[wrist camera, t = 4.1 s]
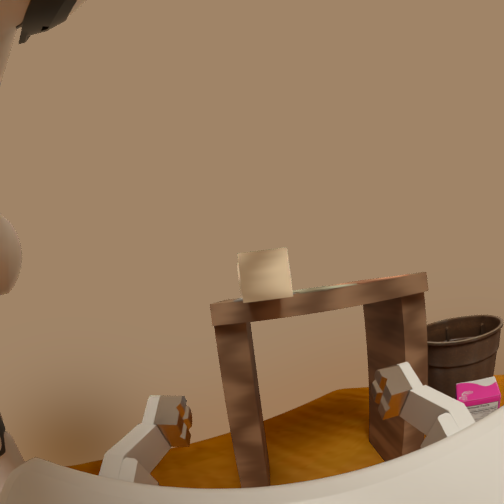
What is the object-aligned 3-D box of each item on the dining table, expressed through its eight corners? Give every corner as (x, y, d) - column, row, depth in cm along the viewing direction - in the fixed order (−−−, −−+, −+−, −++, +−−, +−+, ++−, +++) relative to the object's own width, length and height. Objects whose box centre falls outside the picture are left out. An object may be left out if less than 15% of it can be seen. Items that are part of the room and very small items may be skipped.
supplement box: (447, 452, 25) (455, 381, 26) (485, 447, 21) (497, 374, 23) (443, 477, 20) (456, 401, 22) (486, 472, 17) (504, 393, 18)
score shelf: (246, 515, 23) (209, 303, 26) (249, 459, 37) (225, 299, 40) (422, 474, 23) (425, 270, 26) (383, 433, 37) (376, 277, 40)
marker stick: (226, 305, 17) (219, 239, 18) (243, 297, 38) (239, 267, 39) (309, 294, 17) (300, 229, 18) (280, 292, 38) (277, 262, 39)
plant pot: (484, 442, 22) (496, 336, 25) (395, 433, 36) (395, 342, 38) (502, 394, 32) (506, 310, 34) (432, 394, 45) (432, 319, 47)
